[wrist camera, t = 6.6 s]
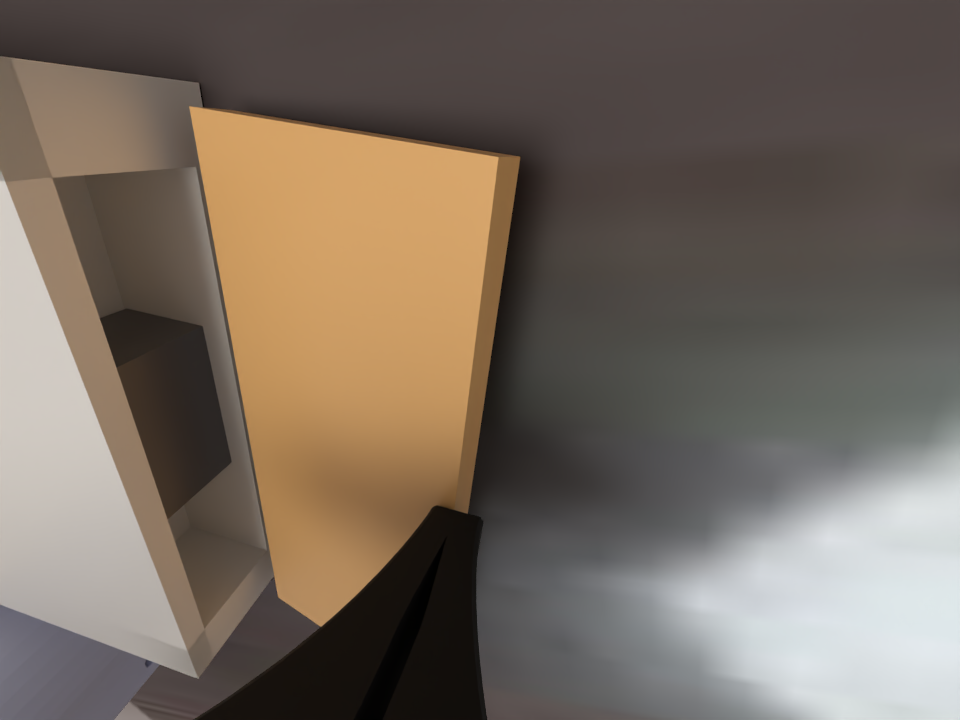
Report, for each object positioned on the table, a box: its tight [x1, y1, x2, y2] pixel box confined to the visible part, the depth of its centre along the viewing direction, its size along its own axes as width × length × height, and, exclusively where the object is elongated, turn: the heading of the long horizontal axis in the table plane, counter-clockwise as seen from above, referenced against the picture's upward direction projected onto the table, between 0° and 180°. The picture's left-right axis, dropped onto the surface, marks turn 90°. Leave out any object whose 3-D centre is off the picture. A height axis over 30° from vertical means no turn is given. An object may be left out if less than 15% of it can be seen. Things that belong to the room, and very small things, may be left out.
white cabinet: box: [0, 56, 274, 679], centre depth 15 cm, size 20×14×5 cm
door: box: [189, 106, 520, 627], centre depth 14 cm, size 19×1×8 cm
